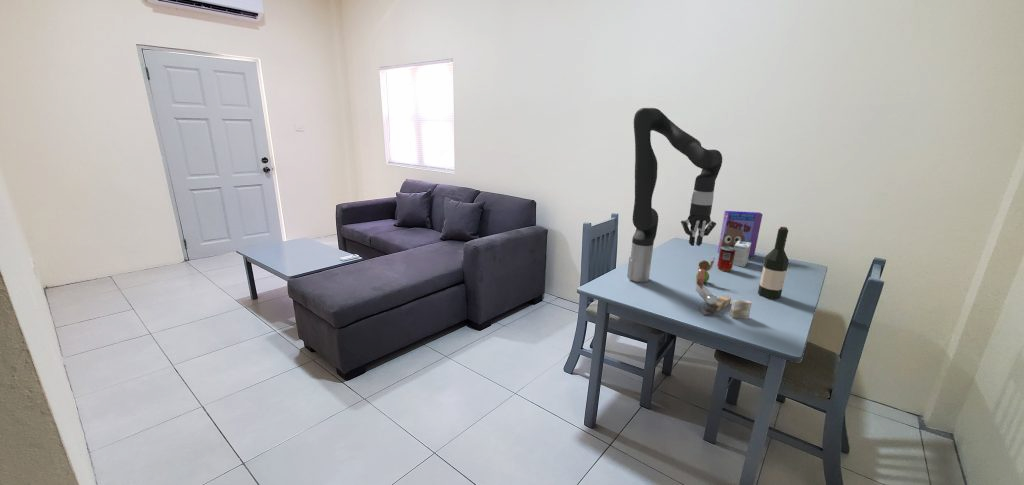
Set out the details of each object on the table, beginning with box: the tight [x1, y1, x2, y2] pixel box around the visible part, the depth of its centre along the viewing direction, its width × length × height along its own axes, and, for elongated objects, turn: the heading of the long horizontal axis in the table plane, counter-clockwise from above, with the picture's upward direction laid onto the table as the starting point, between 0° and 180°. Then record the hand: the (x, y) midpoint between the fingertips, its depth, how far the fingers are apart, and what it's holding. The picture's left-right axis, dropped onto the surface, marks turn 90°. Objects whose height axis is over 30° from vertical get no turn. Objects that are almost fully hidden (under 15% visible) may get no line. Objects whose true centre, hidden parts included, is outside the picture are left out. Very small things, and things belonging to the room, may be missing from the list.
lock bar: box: [695, 269, 718, 306], centre depth 161 cm, size 16×4×9 cm, turn 175°
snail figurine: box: [695, 257, 715, 283], centre depth 186 cm, size 5×6×12 cm
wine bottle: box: [757, 226, 790, 301], centre depth 170 cm, size 8×8×30 cm
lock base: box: [698, 295, 753, 319], centre depth 160 cm, size 16×15×6 cm
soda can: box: [717, 246, 736, 272], centre depth 203 cm, size 7×7×12 cm
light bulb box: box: [733, 241, 751, 268], centre depth 212 cm, size 11×7×11 cm, turn 144°
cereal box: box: [717, 210, 763, 258], centre depth 225 cm, size 17×5×24 cm, turn 80°
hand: (695, 245), depth 163 cm, fingers closed
